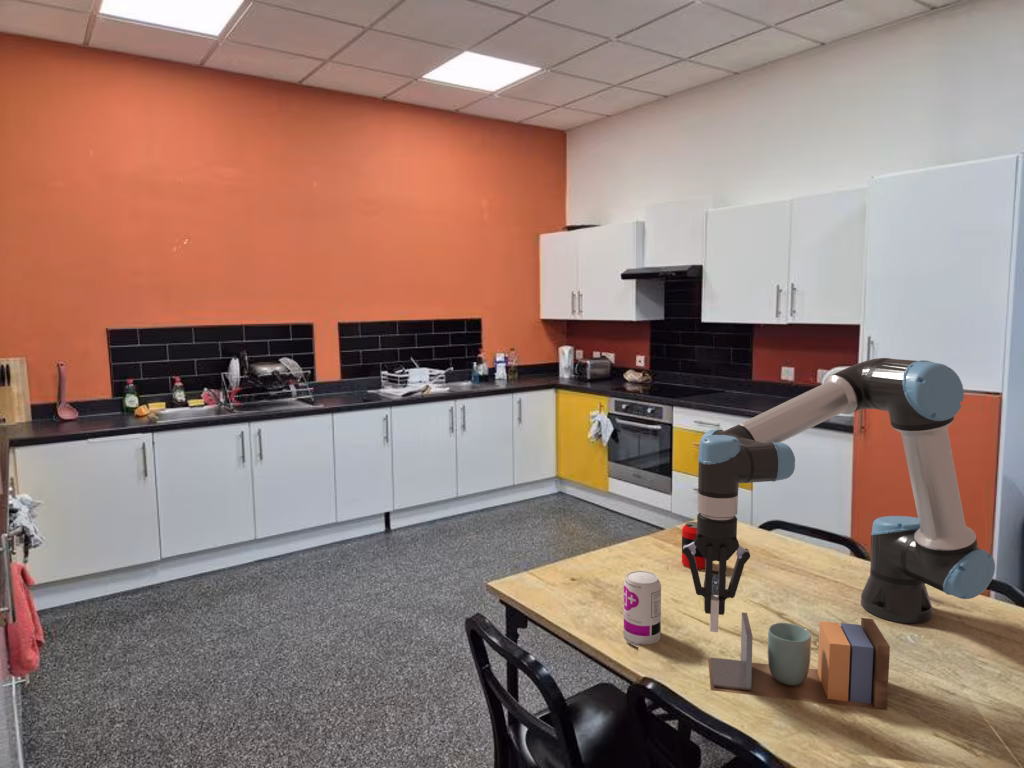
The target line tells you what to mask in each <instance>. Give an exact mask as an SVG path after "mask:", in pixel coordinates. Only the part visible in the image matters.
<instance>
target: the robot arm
mask: <svg viewBox="0 0 1024 768" xmlns="http://www.w3.org/2000/svg"><path fill="white" fill-rule="evenodd" d="M964 393H965V392H964V386H963V383H962V380H961V379H960V376H959V375H958V374H957V372H956V371H955V370H954V369H952V368H951V367H949V366H947V365H946V364H943V363H939V362H933V361H930V360H912V359H901V358H900V359H898V358H890V357H889V358H887V357H878V358H872V359H869V360H865V361H862V362H859V363H856V364H853V365H851V366H847V368H844V369H841V370H839V371H837V372H835V373H833V374H831V375H829V376H826V378H825V379H824V380H823V383H822V384H821V385H818V386H816V387H814V388H812V389H809V390H807V391H805V392H803V393H802V394H801V393H800V394H799V395H797V396H795V397H793V398H791V399H788V400H786V401H785V402H782V403H780V404H778V405H777V406H774V407H772V408H769V409H768V410H766V411H764V412H761V413H759V414H757V415H755V416H754V417H750V418H749V419H747V420H745V421H743V422H740V423H739V424H737V425H735V426H732V427H730V428H727V429H725V430H723V429H719V428H718V429H714V428H713V429H710V430H708V431H706V432H705V433H704V434H703V435H702V436H701V438H700V440H699V446H698V457H697V461H698V470H697V471H698V473H697V475H698V477H697V478H698V480H697V482H698V483H697V487H698V488H697V489H698V490H697V512H698V514H697V517H696V522H697V535H696V537H695V538H694V542H692V543H690V544H684V545H683V552H684V554H685V555H686V557H687V558H688V560H689V565H690V568H689V569H690V573H691V577H692V580H693V581H692V582H693V585H694V591H695V593H696V595H697V596H702V597H703V598H704V606H703V608H704V609H703V610H704V613H705V614H709V631H710V632H713V633H719V616H724V615H725V610H726V609H725V608H726V606H725V605H726V600H727V599H734V598H735V597H736V593H737V591H738V590H737V589H738V587H739V584H740V580H741V577H742V573H743V570H744V568H745V564H747V562H748V561H749V559H750V558H751V553H750V550H749V549H748V548H744V547H743V546H741V545H740V542H739V540H738V538H737V535H738V532H737V531H738V517H737V515H738V510H739V509H738V505H739V501H738V500H739V485H740V484H751V483H763V482H772V483H773V482H777V481H782V480H786V479H789V478H790V477H791V476H792V475H793V474H794V473H795V469H796V457H795V454H794V452H793V450H792V448H791V446H789V445H788V444H786V443H784V441H786V440H789V439H790V438H792V437H795V436H797V435H799V434H800V433H803V432H805V431H807V430H810V429H811V428H813V427H815V426H818V425H819V424H822V423H824V422H826V421H828V420H830V419H832V418H834V417H835V416H838V415H840V414H843V415H851V414H853V413H854V412H857V411H860V410H879V411H885V412H888V416H889V421H890V426H891V428H892V429H894V430H895V431H897V432H899V433H900V435H901V440H902V445H903V449H904V457H905V459H906V464H907V469H908V473H909V474H908V476H909V480H910V484H911V490H912V494H913V499H914V504H915V508H916V509H915V510H916V513H917V517H914V516H906V515H905V516H904V515H886V516H881V517H880V516H879V517H878V518H876V519H875V520H873V522H872V528H871V529H872V530H871V533H870V535H871V536H870V567H869V568H870V572H869V576H868V578H867V581H866V583H865V585H864V587H863V589H862V592H861V596H860V605H861V606H862V608H863V609H864V610H865V611H866V612H868V613H869V614H872V615H873V616H876V617H878V618H880V619H884V620H887V621H892V622H896V623H900V624H901V623H902V624H923V623H926V622H928V621H930V620H931V619H932V618H933V617H932V616H933V605H932V603H931V599H930V596H929V593H928V589H927V587H926V586H930V587H932V588H933V589H936V590H938V591H941V592H943V593H945V594H946V595H948V596H953V597H956V598H958V599H962V600H970V599H973V598H977V597H978V596H980V595H981V594H982V593H984V592H985V590H986V589H987V588H988V587H989V585H990V583H991V582H992V580H993V578H994V575H995V572H996V570H995V569H996V563H995V559H994V557H993V556H992V555H991V554H990V553H989V552H988V551H987V550H986V549H981V548H980V547H979V546H978V545H979V544H978V539H977V535H976V532H975V531H974V530H973V529H972V528H971V527H968V525H966V520H965V515H964V510H963V509H964V508H963V504H962V500H961V499H962V498H961V493H960V488H959V483H958V478H957V473H956V472H957V471H956V467H955V463H954V462H955V461H954V457H953V451H952V446H951V439H950V436H949V429H948V428H949V427H950V426H951V425H952V423H954V421H955V416H956V415H957V414H958V413H959V412H960V410H961V408H962V404H961V402H963V401H964V397H965V396H964V395H965V394H964ZM696 547H697V549H698V550H699V552H700V553H701V554H702V556H703V557H704V558H705V560H706V563H705V568H704V587H703V586H702V583H701V578H700V574H699V569H697V565H696V560H695V556H694V555H695V553H696V550H695V548H696ZM735 553H736V561H735V563H734V567H733V571H732V574H731V577H730V580H729V584H728V586H727V585H726V581H727V579H726V578H727V561H729V559H731V557H732V556H733V555H734V554H735ZM714 562H718V579H717V580H718V581H717V582H718V583H717V585H718V586H717V592H718V593H717V594H712V592H713V589H712V587H713V564H714ZM726 586H727V587H728V588H726Z"/></svg>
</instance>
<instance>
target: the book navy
mask: <svg viewBox="0 0 1024 768" xmlns="http://www.w3.org/2000/svg"><path fill="white" fill-rule="evenodd" d="M840 626H841V628H842V630H843V632H844V634H845V636H846V638H847V640H848V642H849V644H850V666H849V689H848V697H849V700H850V701H851V702H860V703H869V704H871V691H872V670H873V649H874V648H873V646H872V644H871V642H870V641H869V639H868V637H867V636H866V634H865V632H864V630H863V629H862V627H861V624H857V623H856V624H855V623H844V622H840Z"/></svg>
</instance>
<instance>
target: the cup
mask: <svg viewBox="0 0 1024 768" xmlns="http://www.w3.org/2000/svg"><path fill="white" fill-rule="evenodd" d="M811 651H812V635H811V633H810V631H809V630H808V629H807V628H805V627H803V626H800V625H798V624H793V623H789V622H776V623H773V624H772V625H770V626H769V628H768V632H767V662H768V663H767V664H769V669H770V672H771V674H772V676H773V677H774V678H775V679H776V680H777V681H779V682H781V683H783V684H786V685H791V686H795V685H799V684H801V683H803V682H804V681H805V680H806V678H807V675H808V672H809V669H810V666H811V654H812V652H811Z"/></svg>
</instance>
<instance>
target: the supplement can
mask: <svg viewBox="0 0 1024 768" xmlns="http://www.w3.org/2000/svg"><path fill="white" fill-rule="evenodd" d="M661 608H662V584H661V581H660V579H659V577H658V575H656V574H655V573H653V572H650V571H647V570H635V571H634V570H633V571H631V572H629V573H627V575H626V577H625V579H624V581H623V639H624V640H625V641H626V642H627V643H628V644H629V643H630V644H632V645H635V646H638V647H639V645H643V646H646V645H647V646H648V645H653V644H656V643H658V642H659V641H660V640H661V638H662V637H661V636H662V632H661V631H662V630H661V629H662V627H661V626H662V625H661V624H662V622H661V620H662V609H661ZM630 644H629V645H630ZM632 645H631V646H632ZM638 647H637V648H638Z"/></svg>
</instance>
